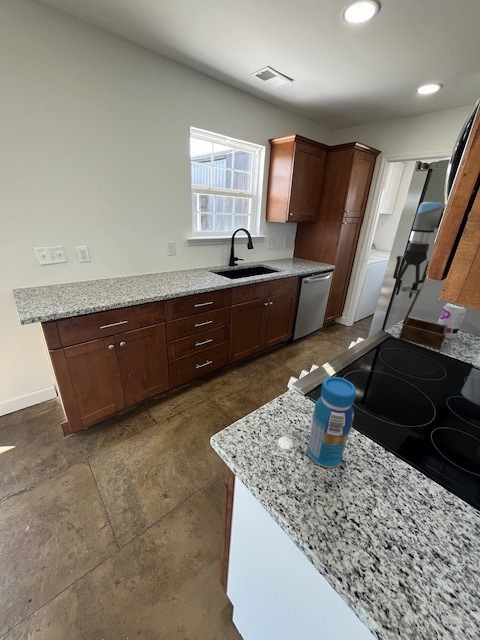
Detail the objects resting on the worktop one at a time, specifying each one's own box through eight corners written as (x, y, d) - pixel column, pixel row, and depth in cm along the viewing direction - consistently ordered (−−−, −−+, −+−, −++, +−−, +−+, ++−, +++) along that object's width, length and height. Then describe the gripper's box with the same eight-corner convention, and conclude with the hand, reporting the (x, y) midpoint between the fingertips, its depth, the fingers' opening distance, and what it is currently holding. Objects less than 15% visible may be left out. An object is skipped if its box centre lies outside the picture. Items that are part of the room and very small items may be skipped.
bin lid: (424, 284, 119) (407, 279, 122) (420, 290, 110) (402, 284, 113) (408, 316, 126) (393, 310, 130) (404, 324, 117) (387, 318, 121)
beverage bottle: (299, 450, 64) (310, 383, 56) (319, 433, 69) (332, 369, 61) (329, 476, 58) (347, 405, 50) (349, 455, 63) (368, 387, 55)
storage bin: (442, 339, 121) (447, 326, 118) (440, 350, 112) (445, 335, 109) (403, 329, 129) (407, 316, 127) (398, 338, 120) (402, 324, 118)
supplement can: (438, 338, 122) (450, 307, 116) (431, 330, 129) (441, 301, 123) (458, 340, 120) (471, 310, 114) (450, 332, 128) (461, 303, 121)
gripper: (445, 244, 108) (427, 298, 117) (397, 239, 118) (384, 289, 127) (444, 246, 102) (425, 302, 112) (394, 241, 112) (380, 293, 122)
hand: (403, 295), depth 120 cm, fingers open, 5 cm apart
